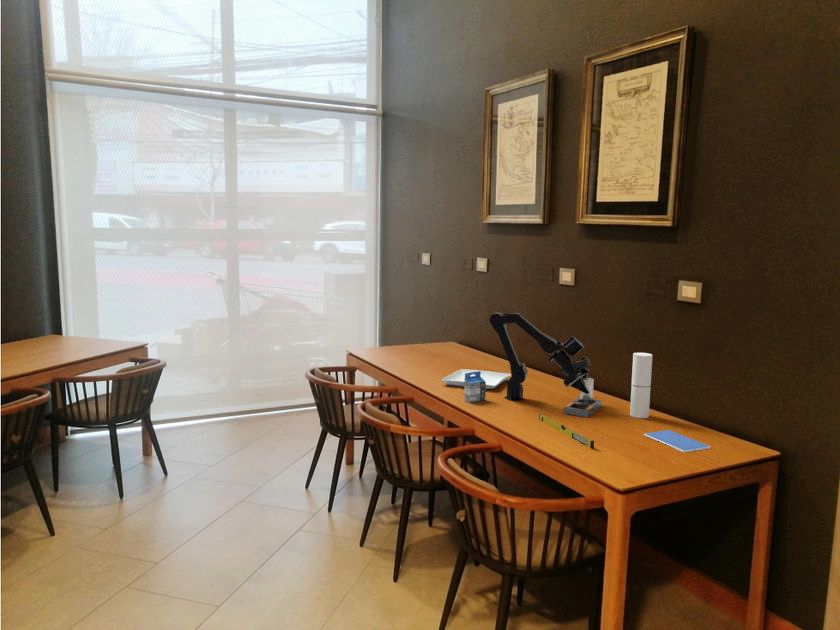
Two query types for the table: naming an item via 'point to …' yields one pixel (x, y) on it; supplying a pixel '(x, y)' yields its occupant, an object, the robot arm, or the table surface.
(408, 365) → the table surface
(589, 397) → the steel peg
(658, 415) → the table surface
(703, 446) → the tablet computer
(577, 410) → the grey flat frame
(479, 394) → the label tape box
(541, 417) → the spirit level
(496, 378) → the square plate
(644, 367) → the cylindrical container
